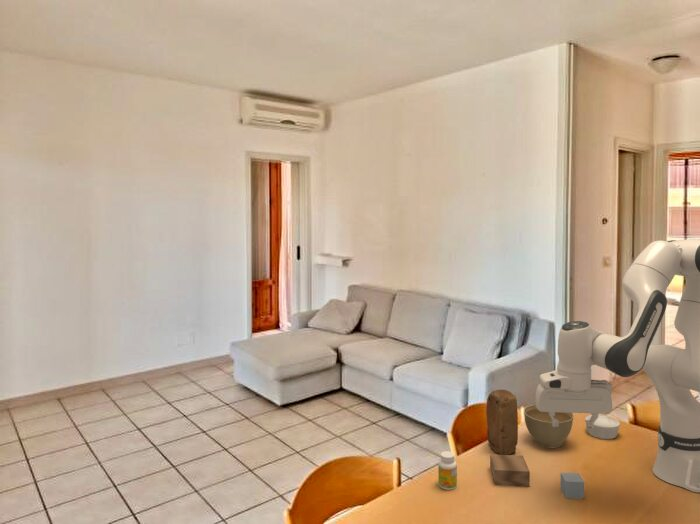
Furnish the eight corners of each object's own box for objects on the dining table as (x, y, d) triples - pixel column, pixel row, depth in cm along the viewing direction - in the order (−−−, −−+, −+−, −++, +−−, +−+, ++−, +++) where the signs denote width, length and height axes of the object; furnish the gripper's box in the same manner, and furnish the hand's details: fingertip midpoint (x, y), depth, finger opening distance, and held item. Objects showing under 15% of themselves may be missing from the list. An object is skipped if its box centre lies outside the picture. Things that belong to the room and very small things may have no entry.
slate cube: (578, 489, 149) (578, 473, 149) (584, 498, 144) (584, 482, 144) (560, 488, 150) (560, 472, 149) (565, 498, 145) (565, 481, 145)
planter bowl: (517, 432, 188) (518, 404, 187) (562, 432, 187) (563, 403, 186) (531, 453, 172) (531, 422, 171) (580, 453, 171) (581, 421, 170)
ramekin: (626, 438, 181) (627, 424, 181) (600, 443, 178) (600, 428, 178) (603, 426, 192) (603, 412, 192) (578, 430, 189) (578, 416, 189)
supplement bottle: (434, 485, 153) (434, 454, 152) (446, 478, 157) (446, 448, 156) (448, 492, 149) (448, 460, 148) (460, 485, 153) (460, 454, 152)
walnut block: (522, 470, 161) (522, 455, 161) (529, 487, 151) (529, 471, 151) (490, 469, 162) (490, 454, 162) (494, 486, 153) (494, 470, 152)
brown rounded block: (519, 454, 171) (520, 396, 169) (499, 457, 169) (499, 398, 168) (502, 440, 182) (502, 385, 180) (483, 443, 180) (483, 388, 178)
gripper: (608, 376, 146) (606, 423, 147) (534, 375, 149) (533, 421, 150) (617, 384, 140) (615, 432, 141) (539, 382, 142) (538, 430, 144)
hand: (572, 426), depth 145 cm, fingers open, 8 cm apart
